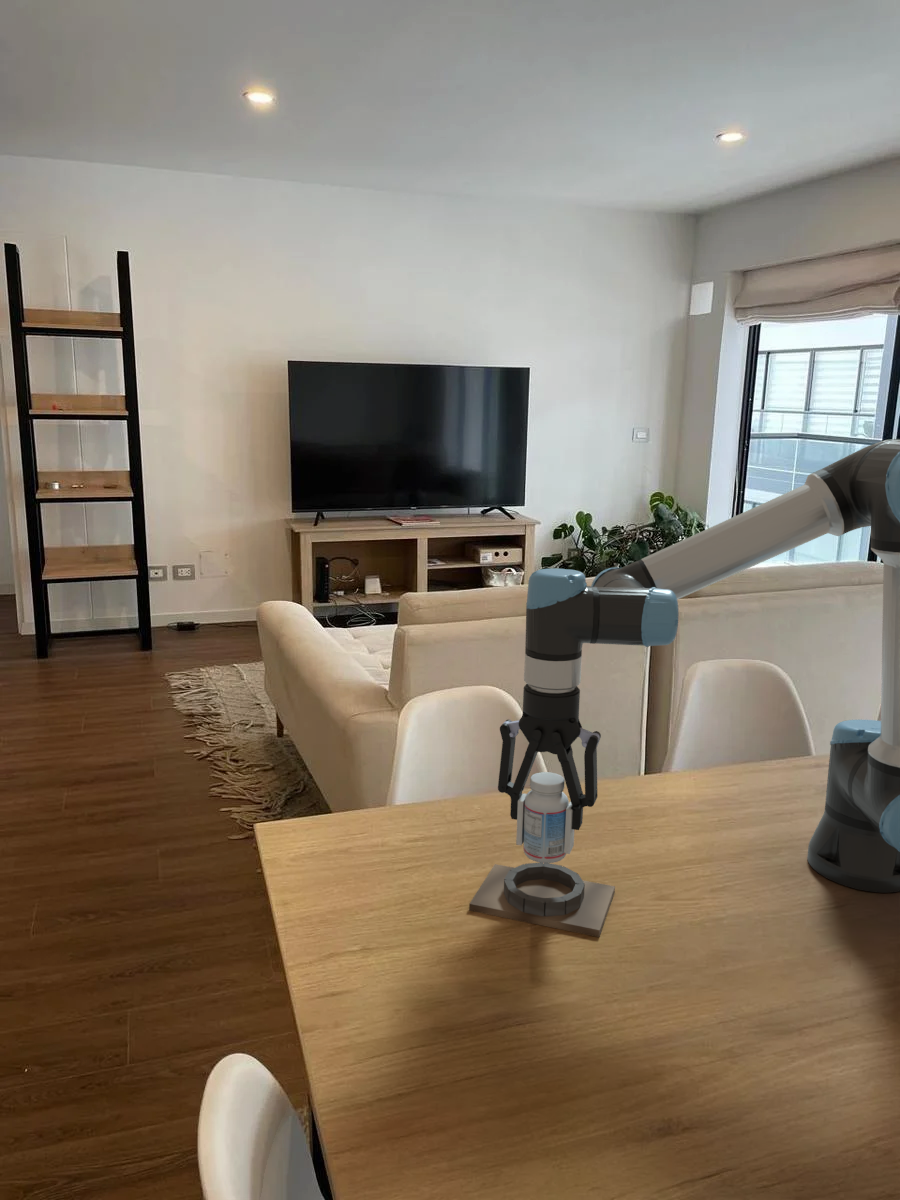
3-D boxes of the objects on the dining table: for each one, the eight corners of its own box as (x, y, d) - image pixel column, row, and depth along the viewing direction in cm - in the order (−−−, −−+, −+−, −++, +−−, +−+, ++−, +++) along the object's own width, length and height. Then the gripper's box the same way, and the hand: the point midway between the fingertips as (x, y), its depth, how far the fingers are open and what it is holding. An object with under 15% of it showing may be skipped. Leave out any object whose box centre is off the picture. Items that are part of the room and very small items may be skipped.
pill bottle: (565, 845, 125) (569, 770, 123) (567, 866, 119) (570, 788, 117) (522, 842, 126) (525, 768, 124) (522, 863, 120) (525, 785, 118)
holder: (614, 892, 127) (615, 873, 126) (599, 937, 116) (600, 916, 115) (494, 870, 133) (495, 851, 132) (469, 910, 122) (469, 890, 121)
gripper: (627, 685, 118) (618, 845, 123) (492, 670, 125) (487, 822, 129) (618, 701, 111) (608, 870, 116) (475, 684, 118) (471, 844, 122)
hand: (544, 844), depth 122 cm, fingers closed on pill bottle, 6 cm apart
